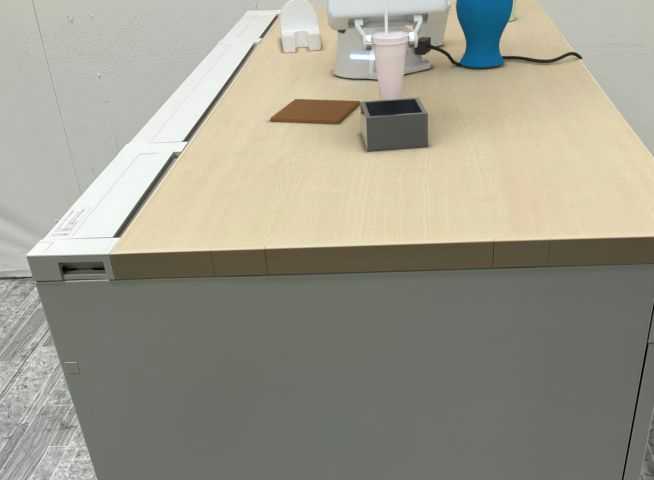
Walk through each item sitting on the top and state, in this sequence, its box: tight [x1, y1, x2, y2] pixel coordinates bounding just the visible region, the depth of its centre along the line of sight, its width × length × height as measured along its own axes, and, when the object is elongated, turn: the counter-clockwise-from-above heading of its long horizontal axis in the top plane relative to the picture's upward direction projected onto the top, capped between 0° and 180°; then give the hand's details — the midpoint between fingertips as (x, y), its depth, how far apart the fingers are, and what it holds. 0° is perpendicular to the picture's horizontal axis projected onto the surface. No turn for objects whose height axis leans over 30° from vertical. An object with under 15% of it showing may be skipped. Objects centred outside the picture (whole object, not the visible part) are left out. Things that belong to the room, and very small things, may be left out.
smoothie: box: [371, 4, 409, 100], centre depth 139 cm, size 6×6×14 cm
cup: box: [418, 0, 452, 48], centre depth 203 cm, size 10×10×9 cm
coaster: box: [270, 98, 361, 125], centre depth 164 cm, size 14×14×1 cm
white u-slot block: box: [279, 0, 322, 53], centre depth 212 cm, size 10×18×10 cm, turn 6°
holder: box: [359, 96, 429, 152], centre depth 146 cm, size 11×11×6 cm
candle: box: [508, 0, 517, 22], centre depth 224 cm, size 5×5×8 cm
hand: (390, 47), depth 138 cm, fingers closed on smoothie, 6 cm apart
